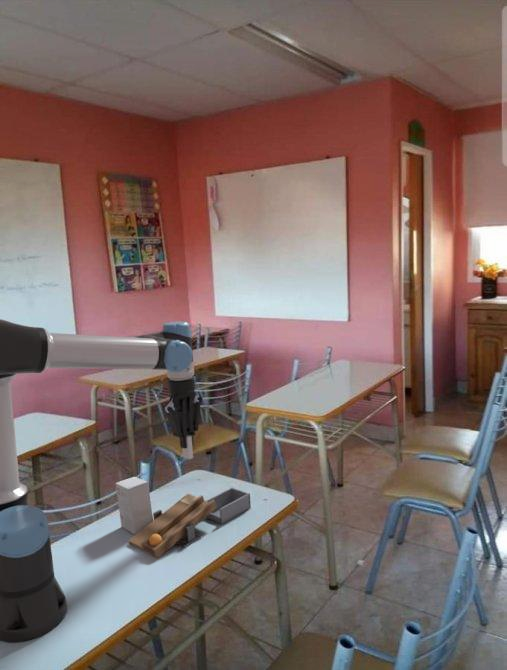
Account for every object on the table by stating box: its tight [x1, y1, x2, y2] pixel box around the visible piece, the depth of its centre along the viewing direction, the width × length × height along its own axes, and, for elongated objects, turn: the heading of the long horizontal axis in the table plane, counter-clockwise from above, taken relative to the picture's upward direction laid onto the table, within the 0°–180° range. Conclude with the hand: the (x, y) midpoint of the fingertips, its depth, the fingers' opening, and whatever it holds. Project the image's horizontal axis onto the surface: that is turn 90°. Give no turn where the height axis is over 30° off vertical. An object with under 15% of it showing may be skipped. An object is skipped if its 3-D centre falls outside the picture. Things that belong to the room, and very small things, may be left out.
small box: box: [115, 476, 154, 535], centre depth 155 cm, size 8×6×13 cm
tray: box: [205, 487, 252, 525], centre depth 162 cm, size 12×7×4 cm, turn 138°
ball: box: [149, 534, 162, 547], centre depth 142 cm, size 3×3×3 cm
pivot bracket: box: [152, 509, 202, 548], centre depth 151 cm, size 6×15×4 cm, turn 48°
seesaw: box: [128, 493, 217, 559], centre depth 151 cm, size 22×12×2 cm, turn 138°
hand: (188, 457), depth 158 cm, fingers closed
